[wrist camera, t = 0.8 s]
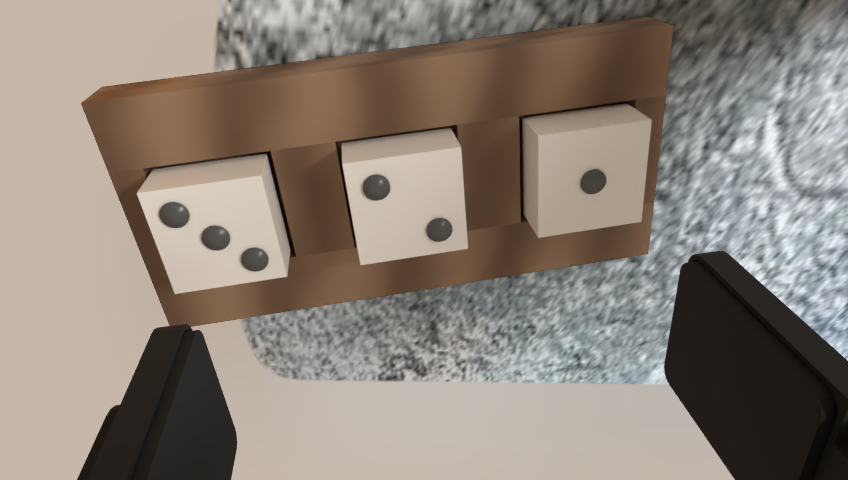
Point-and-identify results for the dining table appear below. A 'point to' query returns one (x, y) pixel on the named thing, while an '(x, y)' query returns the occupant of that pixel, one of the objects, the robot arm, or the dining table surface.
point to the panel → (374, 118)
